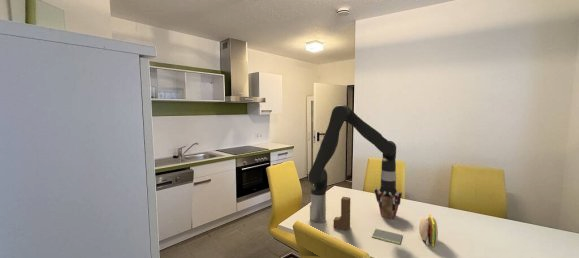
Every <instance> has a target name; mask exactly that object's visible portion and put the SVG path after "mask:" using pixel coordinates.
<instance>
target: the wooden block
mask: <svg viewBox="0 0 579 258" xmlns="http://www.w3.org/2000/svg"><path fill="white" fill-rule="evenodd" d="M333 228H337V229H342V230H346V231H349V229H350V228H351V197H350V196H349V197H348V196H342V197H341V199H340V216H336V217H334V219H333Z"/></svg>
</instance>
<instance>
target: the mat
mask: <svg viewBox="0 0 579 258" xmlns="http://www.w3.org/2000/svg"><path fill="white" fill-rule="evenodd" d="M371 238H373V239H377V240H381V241H385V242H387V243H393V244H396V245H401V243H402V239H403V234H401V233H397V232H393V231H389V230H384V229H380V228H375V230H374V232H373V234H372V236H371Z"/></svg>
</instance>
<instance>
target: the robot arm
mask: <svg viewBox="0 0 579 258" xmlns="http://www.w3.org/2000/svg"><path fill="white" fill-rule="evenodd" d="M344 122H346V123H348V124H349V125H350V126H352V127H353V128H354V129H355V130H356V131H357V132H358V133H359V134H360V136H362V137H363V138H364V139H365V140H367V141H368V142H369V143H371V144H372V145H373V146H374V147H375V148H377V150H379V152H381V153H382V161H381V171H380V172H381V173H380V188H377V187H376V188H375V189H374V194H375V195H374V196H375V198H376V201H377V200H379V201H380V207H381V209H382V197H381V198H380V197H379V193H382V196H390V197H392V200H393V201H392V202H393V204H392V211H394V210H395V208H396V204H399V202H400V203H401V201H400V199H401V197H402V195H403V193H402V191H399V190H398V191H397V183H396V182H397V173H396V171H397V168H396V167H397V166H396V165H397V164H396V163H397V162H396V157H397V144H396V143H395V142H394V141H392V140H388V139H387V138H386V137H384V136H383V134H381V133H380V132H379V131H378V130H377V129H375V128H373V127H372V125H370V124H368V123H367V122H366V121H364V120H363V119H362V118H361V117H359V116H358V115H357V113H355V112H354V111H353V110H352V109H351V108H350V107H349V106H348V105H346V104H339V105H336V106H334V107H333V109H332V111H331V114H330V118H329V122H328V125H327V127H326V131H325V133H324V135H323V137H322V140H321V143H320V146H319V148H318V151H317V154H316V156H315V161H314V162H313V164H312V166H311V168H310V170H309V172H308V181H309V182H310V183H311V184H312V187H311V188H310V199H311V200H310V204H309V220H311V221H312V222H314V223H319V224H320V223H324V222H326V221H327V219H326V218H327V213H326V212H327V204H326V203H327V202H326V201H327V197H326V196H327V189H328V171H327V170H326V168H325V167H326V166H327V164H328V163H329V162H330V160H331V159H332V157H333V156H334V154H335V152H336V150H337V147H338V145H339V140H340V133H341V129H342V127H343V125H344V124H345V123H344ZM394 195H397V196H398V199H397V201H395V197H394Z"/></svg>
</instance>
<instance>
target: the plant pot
mask: <svg viewBox="0 0 579 258" xmlns="http://www.w3.org/2000/svg"><path fill="white" fill-rule="evenodd" d="M379 197H380V198H381V197H382V193H381V192H379ZM394 197H395V201H397V199H398V196H397V194H395V195H394ZM376 202H377V203H378V208H379V211H380V212H379V213H380V214H381V213H382V209H381V207H380V201H379V200H377V199H376ZM399 205H401V199H400V202H399V204H396V208H395V210H394V213H393V216H392V219H395V218H396V217H397V212H398V210H399V209H398V208H399Z"/></svg>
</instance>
